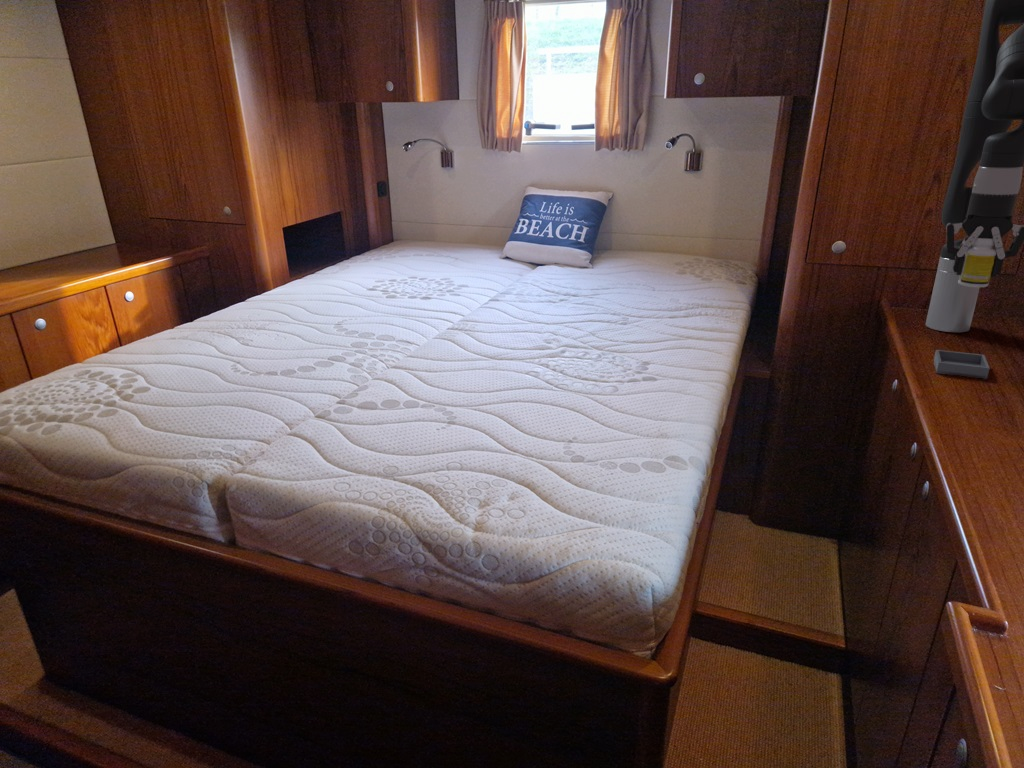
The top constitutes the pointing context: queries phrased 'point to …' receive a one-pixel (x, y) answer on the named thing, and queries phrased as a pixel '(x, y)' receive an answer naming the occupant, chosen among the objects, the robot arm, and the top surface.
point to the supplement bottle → (978, 263)
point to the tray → (961, 364)
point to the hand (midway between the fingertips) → (975, 275)
